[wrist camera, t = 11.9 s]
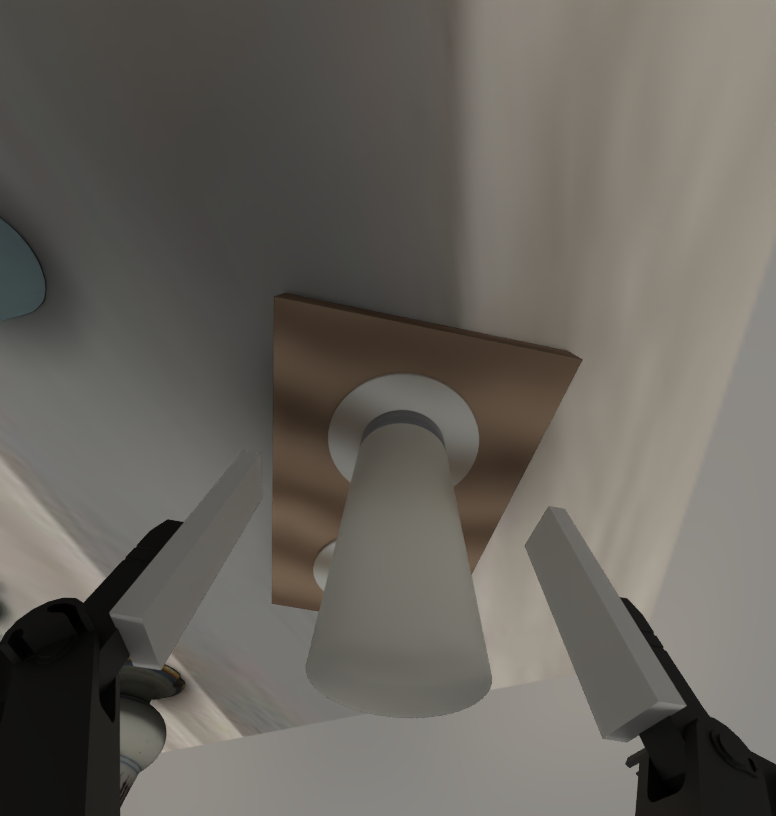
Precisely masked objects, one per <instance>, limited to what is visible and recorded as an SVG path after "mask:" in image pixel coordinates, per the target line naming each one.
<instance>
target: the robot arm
mask: <svg viewBox="0 0 776 816" xmlns="http://www.w3.org/2000/svg"><path fill="white" fill-rule="evenodd" d="M261 500H262V464H261V453H258V452H252V451H247V450H243V452H242V453H241V454H240V455H239V456H238V458H237V459H236V460H235V461H234V462H233V464H232V465H231V466H230V467H229V468H228V470H227V471H226V472H225V473H224V475H223V476H222V477H221V478H220V479H219V481H218V482H217V483H216V484H215V485H214V487H213V488H212V489H211V490H210V491H209V493H208V494H207V495H206V496H205V497H204V499H203V500H202V501H201V502H200V503H199V505H198V506H197V507H196V508H195V510H194V511H193V512H192V513H191V514H190V516H189V517H188V518H187V519H186V520H185V522H180V521H174V520H166V521H164V522H163V523H161V524H160V525H158V526H157V527H155V528H154V529H152V530H151V531H150V532H149V533H148V534H147V535H146V536H145V537H144V538H143V539H142V540H141V541H140V542H139V543H138V544H137V547H136V548H134V549H133V550H132V551H131V552H130V553H129V554H128V555H127V556H126V559H125V560H123V561H122V562H121V563H120V564H119V565H118V566H117V567H116V568H115V569H114V570H113V572H112V573H111V574H110V575H109V576H108V577H107V578H106V579H105V580H104V581H103V582H102V583H101V585H100V586H99V587H98V588H97V589H96V590H95V591H94V592H93V593H92V594H91V595H90V596H89V597H88V599H87V600H86V601H85V602H84V603H83V602H81V601H80V600H78V599H76V598H61V599H57V600H53V601H49V602H47V603H45V604H43V605H41V606H39V607H37V608H35V609H33V610H31V611H30V612H28V613H27V614H26V615H24V616H23V617H21V618H20V619H19V620H17V621H16V622H15V623H14V625H13V626H12V627H11V628H10V629H9V630H8V631H7V632H6V633H5V635H4V636H3V638H2V640H1V642H0V816H120V675H119V671H120V669H121V668H122V667H123V665H124V664H125V662H126V661H127V659H128V658H129V657H130V659H131V661H132V664H133V666H137V667H143V668H150V669H156V670H161V669H162V668H163V666H164V664H165V663H166V661H167V659H168V657H169V656H170V654H171V652H172V651H173V649H174V647H175V646H176V644H177V642H178V641H179V639H180V637H181V635H182V634H183V632H184V630H185V629H186V627H187V625H188V624H189V622H190V620H191V618H192V617H193V615H194V613H195V612H196V610H197V608H198V607H199V605H200V603H201V601H202V600H203V598H204V596H205V595H206V593H207V591H208V590H209V588H210V586H211V585H212V583H213V581H214V579H215V578H216V576H217V574H218V573H219V571H220V569H221V568H222V566H223V564H224V562H225V561H226V559H227V557H228V556H229V554H230V552H231V551H232V549H233V547H234V545H235V544H236V542H237V540H238V539H239V537H240V535H241V534H242V532H243V530H244V529H245V527H246V525H247V523H248V522H249V520H250V518H251V517H252V515H253V513H254V512H255V510H256V508H257V506H258V505H259V503H260V501H261ZM525 548H526V550H527V553H528V555H529V558H530V560H531V562H532V565H533V567H534V570H535V572H536V575H537V577H538V580H539V582H540V585H541V587H542V590H543V592H544V595H545V597H546V600H547V602H548V605H549V607H550V610H551V612H552V614H553V617H554V619H555V622H556V624H557V627H558V629H559V632H560V634H561V637H562V639H563V642H564V644H565V647H566V649H567V652H568V654H569V657H570V659H571V662H572V664H573V667H574V669H575V671H576V674H577V676H578V679H579V681H580V684H581V686H582V689H583V691H584V694H585V696H586V698H587V701H588V704H589V706H590V709H591V711H592V713H593V716H594V718H595V721H596V723H597V726H598V728H599V731H600V733H601V736H602V738H603V739H609V740H614V741H621V742H629V741H630V740H632V739H633V738H635V737H637V736H638V735H639V736H640V738H641V740H642V742H643V744H644V746H645V748H644V749H642V750H640V751H638V752H637V753H635V754H633V755H631V756H630V757H628V758H627V761H626V763H625V764H626V765H627V766H628V767H629V768H631V767H632V766H634V765H636V764H638V763H639V771H638V772H637V773H636V775H637V776H638V787H637V788H638V789H637V800H636V813H635V816H776V764H774V763H772V762H770V761H768V760H766V759H764V758H763V757H761V756H759V755H757V754H755V753H753V752H751V751H750V750H749V749H748V748H747V746H746V745H745V744H744V743H743V742H742V741H741V739H740V738H739V737H738V736H737V735H735V733H734V732H732V731H731V730H730V729H729V728H728V727H727V726H726V725H724V724H722V723H721V722H719V721H718V720H716V719H715V718H712V717H710V716H709V715H708V714H707V712H706V711H705V710H704V708H703V707H702V705H701V704H700V702H699V701H698V699H697V698H696V696H695V694H694V693H693V691H692V690H691V688H690V687H689V685H688V684H687V682H686V681H685V679H684V678H683V676H682V674H681V673H680V671H679V670H678V669H677V667H676V665H675V664H674V662H673V661H672V659H671V658H670V656H669V655H668V653H667V651H665V650H664V649H663V645H662V644H661V642H660V641H659V639H658V638H657V636H655V635H654V632H653V630H652V629H651V627H650V625H649V624H648V622H647V621H646V619H645V618H644V616H643V615H642V614H641V613H640V612H639V610H638V609H637V608H636V607H635V606H634V605H633V604H632V603H631V602H630V601H629V600H628V599H627V598H621V597H619V596H618V594H617V592H616V591H615V589H614V588H613V586H612V584H611V583H610V581H609V579H608V578H607V576H606V575H605V573H604V571H603V570H602V568H601V567H600V565H599V563H598V562H597V560H596V558H595V557H594V555H593V554H592V552H591V550H590V549H589V547H588V546H587V544H586V542H585V541H584V539H583V537H582V536H581V534H580V533H579V531H578V529H577V528H576V526H575V525H574V523H573V521H572V520H571V518H570V516H569V515H568V513H567V512H566V510H565V509H562V508H557V507H551V506H549V507H548V508H547V510H546V511H545V513H544V515H543V516H542V518H541V520H540V521H539V523H538V524H537V526H536V528H535V529H534V531H533V533H532V534H531V536H530V538H529V539H528V541H527V542H526V544H525Z"/></svg>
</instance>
